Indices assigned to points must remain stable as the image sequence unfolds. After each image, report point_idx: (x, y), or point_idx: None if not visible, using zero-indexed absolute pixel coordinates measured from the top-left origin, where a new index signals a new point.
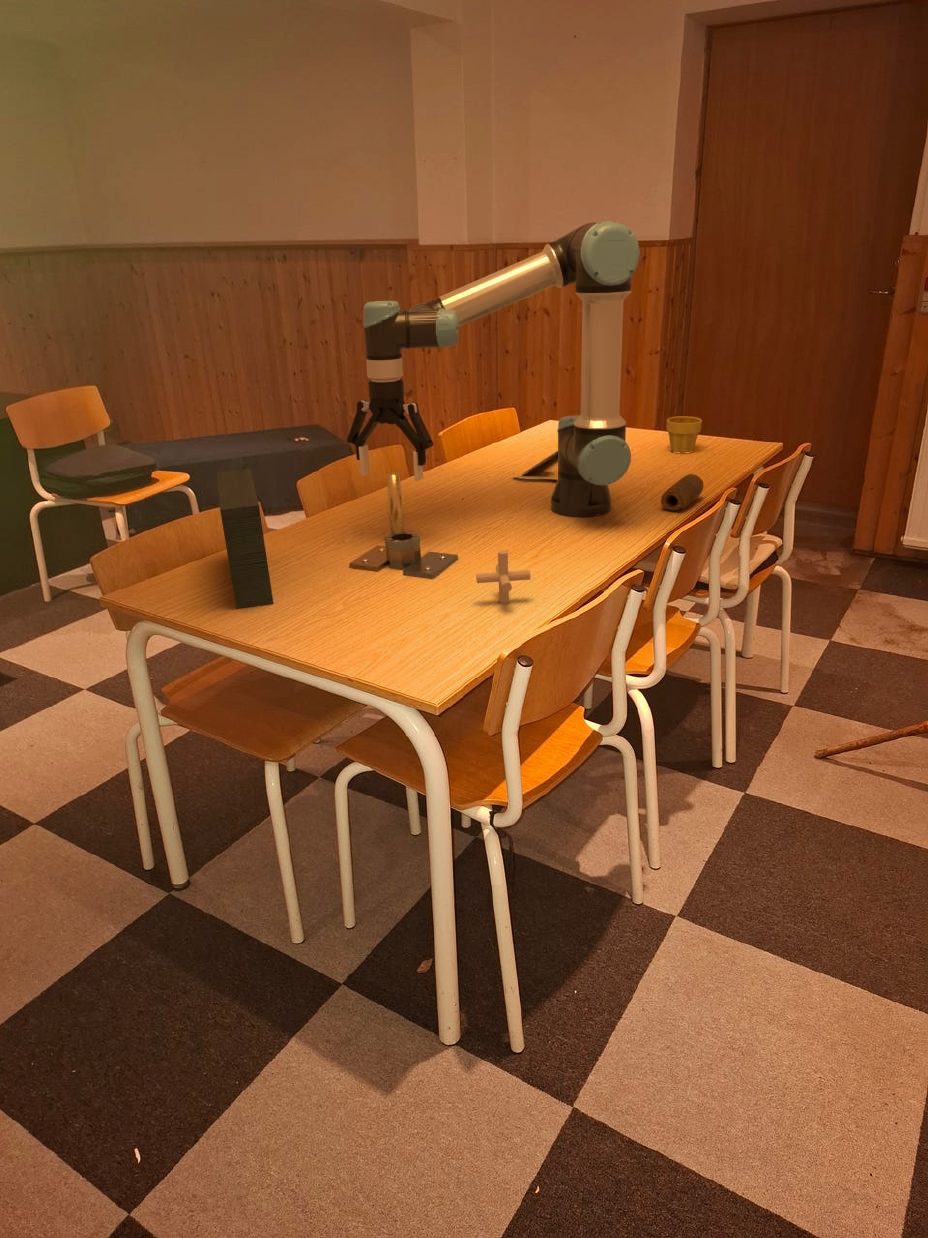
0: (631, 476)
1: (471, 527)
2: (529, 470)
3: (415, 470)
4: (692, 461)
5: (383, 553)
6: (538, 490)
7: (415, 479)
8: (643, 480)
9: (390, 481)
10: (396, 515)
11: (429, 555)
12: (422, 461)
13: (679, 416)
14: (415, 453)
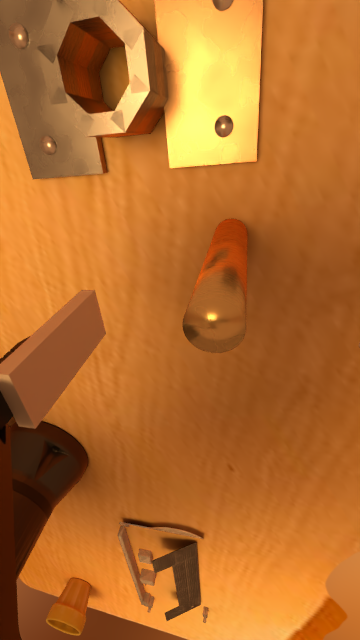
0: (74, 533)
1: (135, 354)
2: (182, 548)
3: (64, 312)
4: (52, 561)
5: (202, 98)
6: (141, 498)
7: (87, 293)
8: (54, 523)
9: (214, 286)
10: (214, 243)
11: (83, 145)
12: (14, 348)
13: (75, 634)
14: (3, 366)
